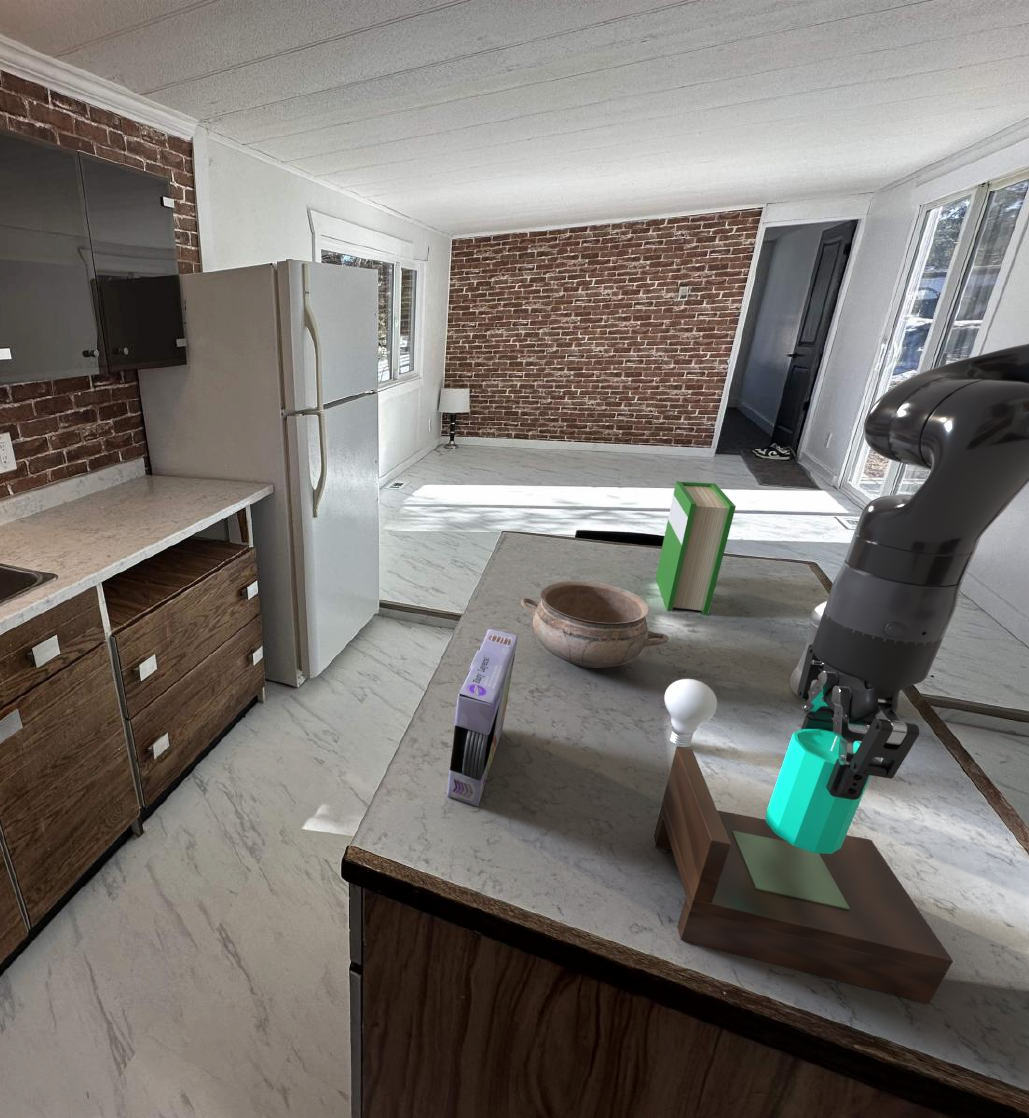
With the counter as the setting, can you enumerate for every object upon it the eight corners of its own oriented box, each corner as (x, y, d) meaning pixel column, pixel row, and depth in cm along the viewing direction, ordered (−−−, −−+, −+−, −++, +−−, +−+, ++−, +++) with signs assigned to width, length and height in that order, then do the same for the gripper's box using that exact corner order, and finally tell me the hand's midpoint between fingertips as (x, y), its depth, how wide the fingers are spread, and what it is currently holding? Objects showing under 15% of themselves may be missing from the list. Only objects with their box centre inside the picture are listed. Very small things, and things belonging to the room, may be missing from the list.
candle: (776, 844, 59) (810, 747, 54) (756, 801, 64) (787, 709, 59) (852, 861, 57) (895, 761, 52) (826, 815, 62) (863, 720, 57)
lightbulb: (652, 726, 93) (667, 666, 89) (701, 737, 90) (718, 675, 86) (656, 752, 88) (671, 689, 84) (707, 763, 85) (725, 699, 81)
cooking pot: (497, 658, 113) (503, 600, 108) (534, 620, 126) (541, 567, 121) (645, 707, 97) (660, 642, 93) (670, 658, 110) (684, 599, 106)
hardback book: (707, 615, 125) (735, 506, 116) (667, 610, 128) (691, 503, 119) (691, 582, 140) (715, 483, 131) (655, 578, 142) (676, 481, 133)
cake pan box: (479, 815, 78) (492, 703, 72) (442, 802, 81) (450, 693, 74) (506, 730, 94) (519, 632, 87) (474, 721, 96) (483, 625, 89)
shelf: (854, 878, 67) (896, 782, 62) (929, 1004, 55) (990, 898, 50) (653, 836, 74) (676, 746, 69) (680, 940, 62) (711, 840, 57)
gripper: (1000, 668, 44) (918, 838, 50) (891, 587, 56) (837, 732, 62) (871, 653, 46) (809, 817, 52) (795, 580, 59) (752, 719, 65)
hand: (824, 770), depth 57 cm, fingers closed on candle, 6 cm apart
